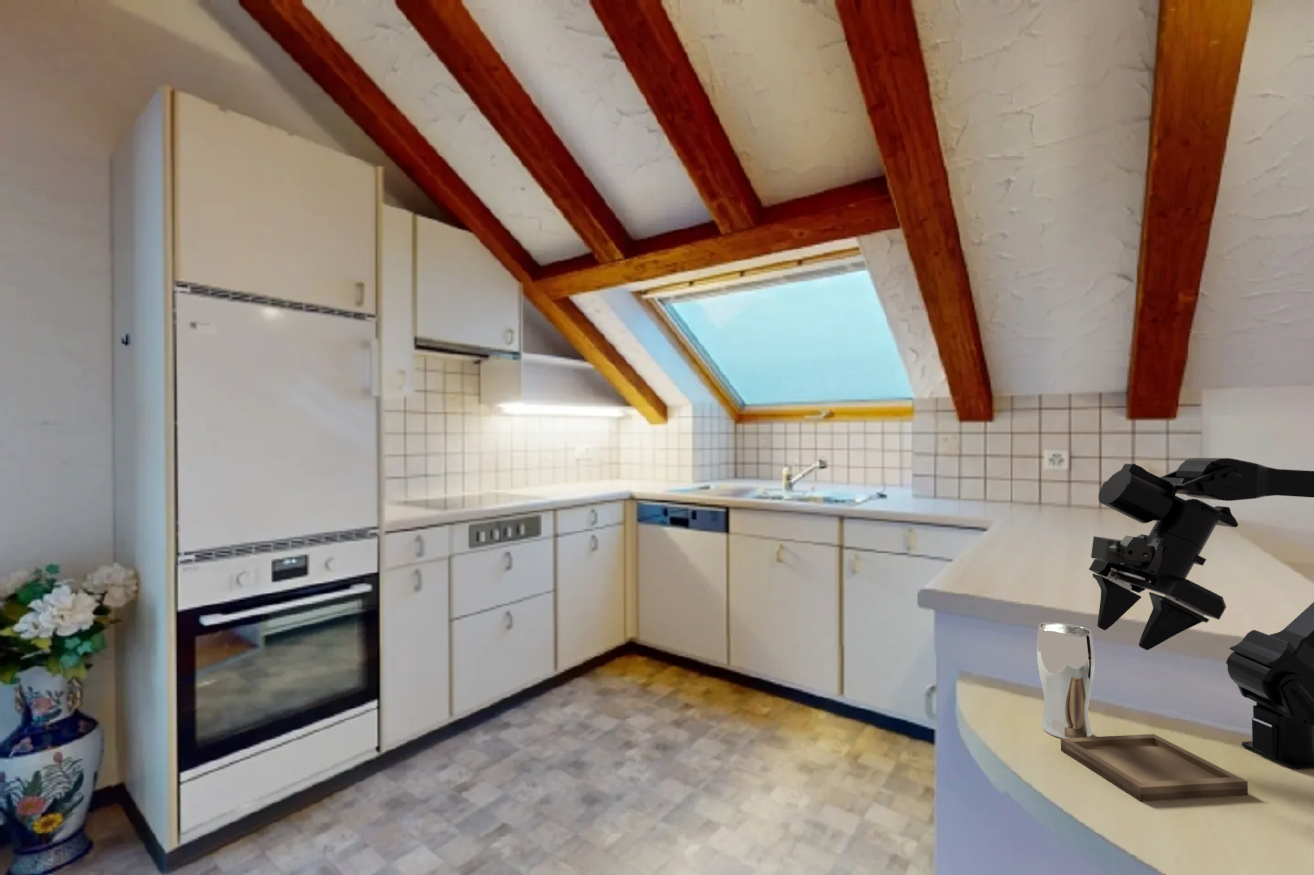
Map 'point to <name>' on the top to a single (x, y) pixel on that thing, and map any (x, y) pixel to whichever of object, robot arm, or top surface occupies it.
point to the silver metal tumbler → (1065, 678)
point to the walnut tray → (1153, 767)
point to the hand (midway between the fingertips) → (1120, 637)
